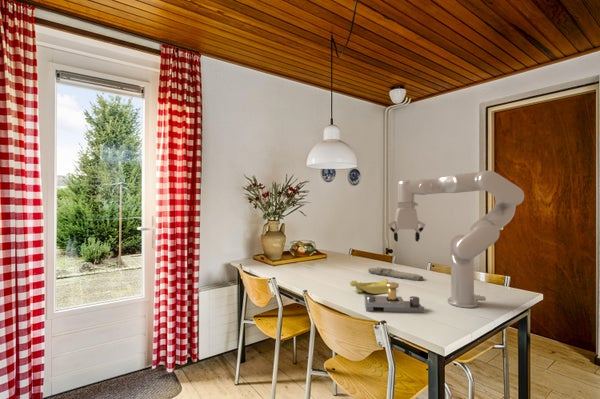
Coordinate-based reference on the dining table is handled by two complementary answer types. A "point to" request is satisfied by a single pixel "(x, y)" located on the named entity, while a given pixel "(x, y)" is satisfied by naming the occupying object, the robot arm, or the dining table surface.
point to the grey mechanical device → (393, 304)
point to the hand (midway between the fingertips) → (406, 241)
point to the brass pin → (392, 290)
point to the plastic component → (371, 287)
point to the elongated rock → (395, 274)
